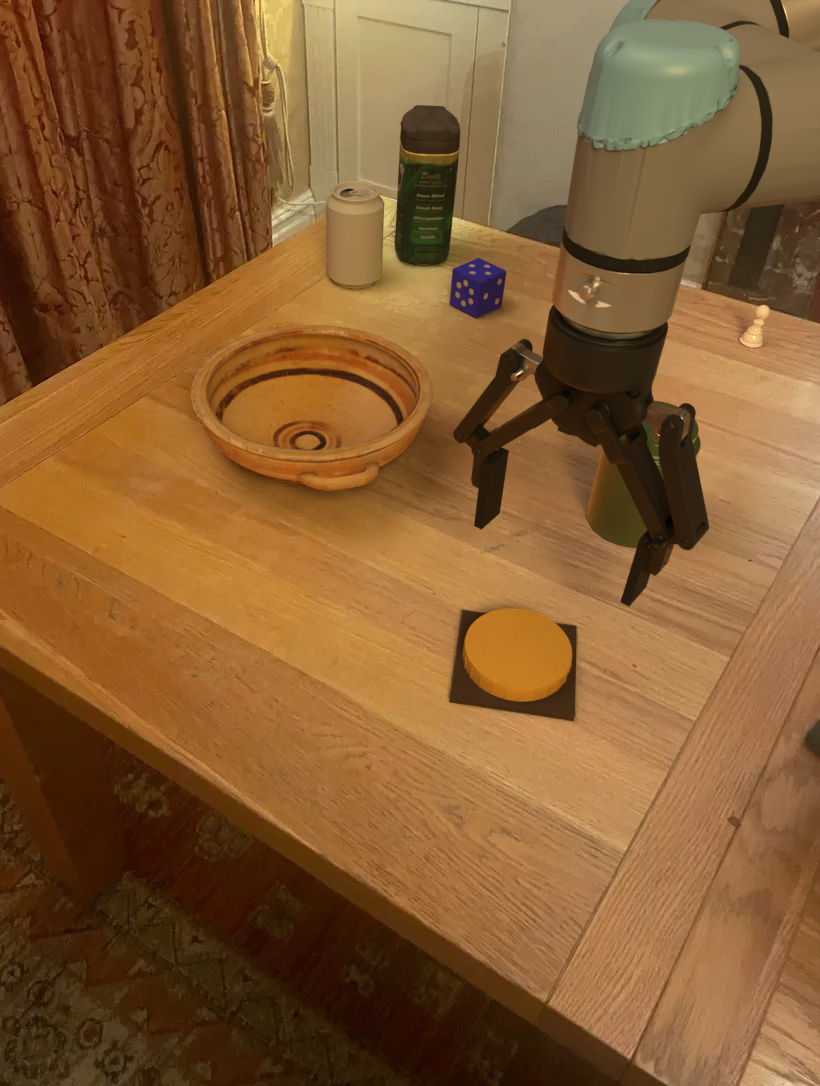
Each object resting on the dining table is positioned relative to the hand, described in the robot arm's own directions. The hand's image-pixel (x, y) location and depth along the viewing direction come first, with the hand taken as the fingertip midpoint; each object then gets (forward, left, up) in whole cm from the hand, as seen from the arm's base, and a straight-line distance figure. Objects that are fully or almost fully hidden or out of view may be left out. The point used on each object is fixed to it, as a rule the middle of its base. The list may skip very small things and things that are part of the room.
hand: (557, 556), depth 73 cm
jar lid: (+2, +4, -7) cm, 8 cm away
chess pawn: (-24, -55, -9) cm, 60 cm away
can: (+28, -61, -9) cm, 67 cm away
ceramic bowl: (+25, -22, -9) cm, 34 cm away
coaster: (+2, +4, -9) cm, 10 cm away
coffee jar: (+20, -71, -9) cm, 74 cm away
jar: (-8, -17, -9) cm, 21 cm away
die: (+11, -57, -9) cm, 58 cm away
